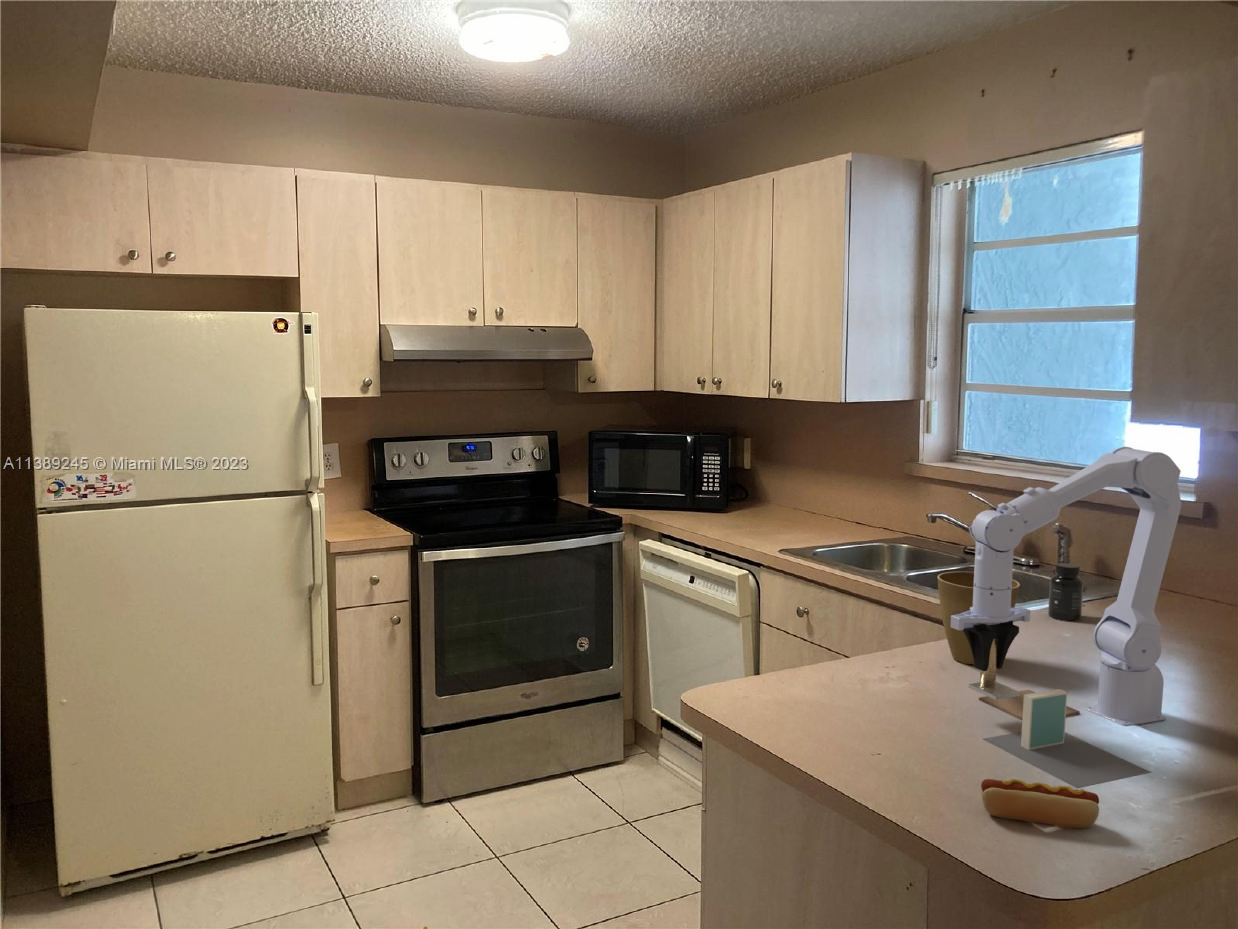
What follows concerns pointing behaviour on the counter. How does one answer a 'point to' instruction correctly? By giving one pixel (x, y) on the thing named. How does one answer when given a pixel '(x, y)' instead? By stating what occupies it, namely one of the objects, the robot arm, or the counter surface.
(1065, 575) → the supplement bottle
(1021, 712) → the board
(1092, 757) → the mat
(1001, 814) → the food
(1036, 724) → the tile
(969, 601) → the plant pot
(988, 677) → the stamp with brass handle
